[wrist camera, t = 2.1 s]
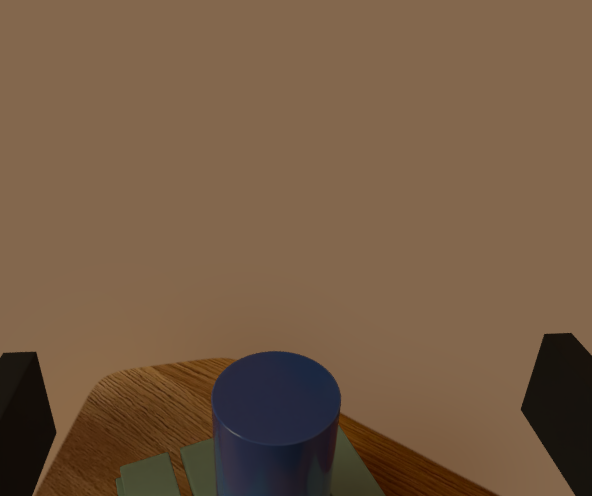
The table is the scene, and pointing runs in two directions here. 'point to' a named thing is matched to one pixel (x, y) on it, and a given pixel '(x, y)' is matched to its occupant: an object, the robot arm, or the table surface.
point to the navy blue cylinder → (274, 426)
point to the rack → (201, 476)
